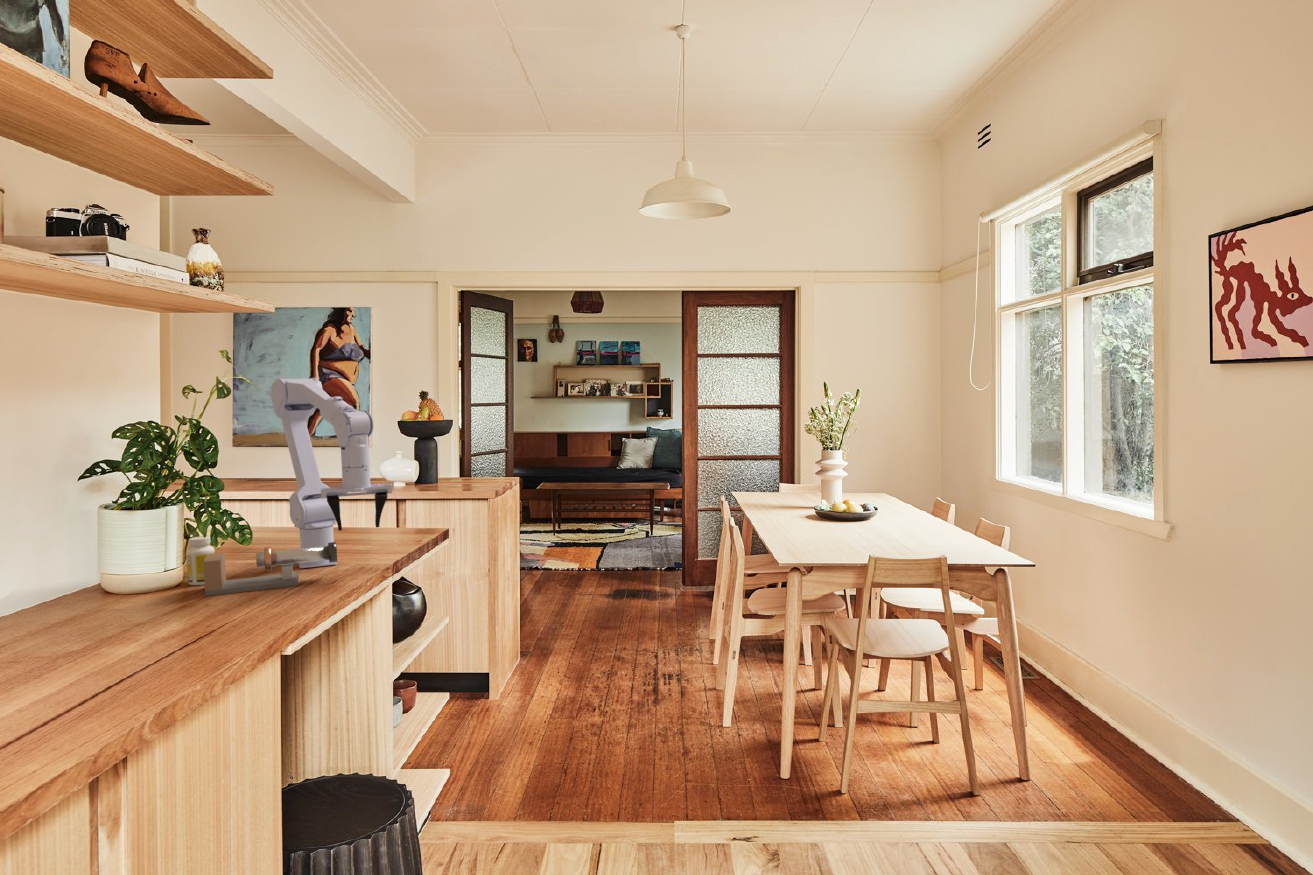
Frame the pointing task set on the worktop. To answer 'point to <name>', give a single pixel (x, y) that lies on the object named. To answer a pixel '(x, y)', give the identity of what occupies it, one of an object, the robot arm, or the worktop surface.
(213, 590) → the shaft stand
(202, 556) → the supplement bottle
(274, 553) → the shaft
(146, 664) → the worktop surface
